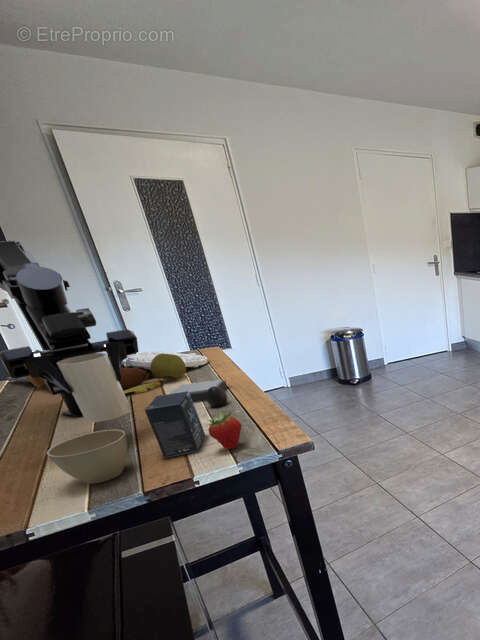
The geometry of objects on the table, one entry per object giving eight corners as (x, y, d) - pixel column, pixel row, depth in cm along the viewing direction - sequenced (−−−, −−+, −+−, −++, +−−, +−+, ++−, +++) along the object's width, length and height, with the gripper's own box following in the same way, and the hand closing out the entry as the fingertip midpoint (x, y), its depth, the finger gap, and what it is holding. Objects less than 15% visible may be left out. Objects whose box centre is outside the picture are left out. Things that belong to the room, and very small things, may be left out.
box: (199, 451, 86) (179, 403, 81) (164, 459, 83) (142, 409, 79) (206, 435, 92) (189, 389, 88) (174, 442, 90) (154, 395, 86)
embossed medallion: (220, 367, 142) (219, 358, 141) (145, 372, 124) (144, 362, 124) (187, 358, 150) (186, 350, 150) (113, 362, 133) (112, 353, 132)
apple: (183, 360, 132) (183, 382, 131) (148, 357, 127) (148, 380, 125) (188, 351, 127) (188, 374, 126) (152, 348, 122) (152, 372, 120)
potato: (154, 386, 125) (150, 368, 122) (102, 400, 116) (96, 381, 113) (143, 375, 127) (139, 358, 124) (91, 388, 118) (85, 369, 115)
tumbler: (77, 420, 85) (47, 363, 80) (116, 406, 91) (91, 352, 86) (100, 424, 83) (72, 365, 78) (139, 409, 89) (115, 354, 85)
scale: (166, 405, 109) (162, 396, 108) (181, 393, 117) (177, 384, 116) (216, 398, 112) (213, 389, 111) (227, 387, 120) (224, 378, 119)
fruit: (219, 445, 88) (206, 409, 85) (249, 439, 90) (237, 404, 87) (213, 456, 83) (199, 419, 80) (245, 450, 85) (232, 413, 82)
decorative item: (113, 397, 114) (106, 394, 116) (114, 400, 114) (107, 396, 117) (163, 383, 122) (156, 380, 125) (164, 386, 123) (157, 383, 125)
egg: (210, 410, 105) (203, 391, 103) (208, 405, 108) (201, 386, 106) (230, 405, 108) (223, 386, 106) (227, 400, 110) (221, 382, 108)
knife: (44, 376, 117) (-2, 376, 129) (56, 387, 119) (10, 386, 132) (77, 359, 123) (30, 360, 135) (88, 369, 125) (41, 370, 137)
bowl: (95, 494, 73) (76, 458, 70) (51, 490, 75) (30, 454, 72) (154, 463, 82) (138, 430, 79) (112, 460, 84) (96, 427, 81)
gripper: (-28, 306, 73) (14, 378, 72) (114, 289, 87) (153, 349, 85) (-9, 344, 81) (30, 410, 79) (120, 323, 94) (155, 379, 93)
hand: (96, 386), depth 84 cm, fingers closed on tumbler, 7 cm apart
